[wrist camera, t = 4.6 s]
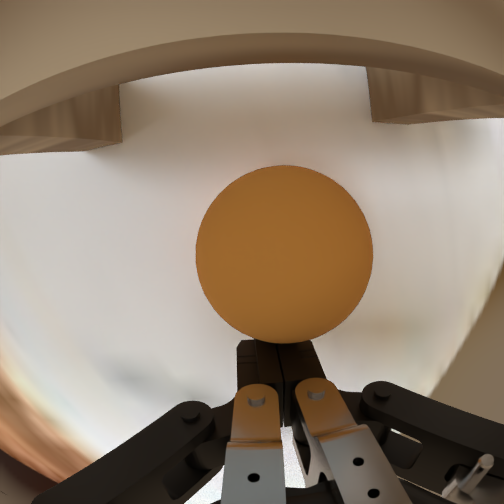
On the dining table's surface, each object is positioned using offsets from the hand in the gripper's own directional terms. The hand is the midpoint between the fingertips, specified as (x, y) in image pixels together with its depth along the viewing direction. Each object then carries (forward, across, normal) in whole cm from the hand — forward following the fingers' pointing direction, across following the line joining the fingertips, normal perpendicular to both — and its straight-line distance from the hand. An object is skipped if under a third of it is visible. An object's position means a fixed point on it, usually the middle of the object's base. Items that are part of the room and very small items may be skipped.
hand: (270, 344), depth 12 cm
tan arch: (+2, 0, -10) cm, 11 cm away
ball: (-1, 0, -4) cm, 4 cm away
